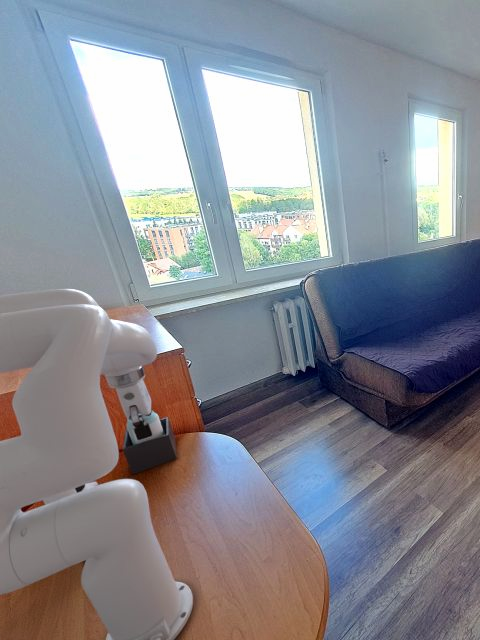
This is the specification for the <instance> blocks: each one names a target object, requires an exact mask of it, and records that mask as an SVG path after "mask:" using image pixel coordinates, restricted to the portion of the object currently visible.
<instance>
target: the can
mask: <svg viewBox="0 0 480 640" xmlns="http://www.w3.org/2000/svg"><path fill="white" fill-rule="evenodd" d="M139 415H142V413H138V416H139ZM145 418H146V422H147V423H149V426H150V429H151V432H152V436H150V437H147V438H144V439H141V440H137V437H136V435H135V432H134V429H133V425H132V421H131V420H128V419H127V418H126V419H127V422H126V424H125V426H126V430H128V432H129V435H130V437H131V440H132V442H133V445H136V444H139V443H142V442H145V441H148V440H151V439H154V438H157V437H160V436H163V435H165V434H164V431H163V428H162V425H161V422H160V419H161V418H160V417H159V415H158V413H157V412H154V410H152V409H151V412H150V414H149V415H145ZM139 419H140V420H142V417H140V418H139ZM142 421H143V420H142Z"/></svg>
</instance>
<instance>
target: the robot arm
mask: <svg viewBox="0 0 480 640" xmlns="http://www.w3.org/2000/svg"><path fill="white" fill-rule="evenodd" d="M157 357H158V349H157V345H156V343H155V340H154V339H153V337H152V336H151V334H150V332H149V331H148V330H147V329H146V328H145V327H144V326H141V325H139V324H137V323H132V322H127V321H123V320H118V319H117V320H116V319H110V316H109V314H108V313H107V312H106V310H104V309H103V308H102V307H101V306H100V304H98V302H97V301H96V300H95V299H94V298H93V297H92V296H91V295H90V294H88V293H86V292H84V291H82V290H78V289H72V288H53V289H45V290H36V291H26V292H19V293H18V292H17V293H9V294H0V375H1V374H6V373H11V372H16V371H21V370H26V369H30V370H29V371H28V372H27V374H26V375H25V377H24V378H23V379H22V380H21V382H20V383H19V385H18V387H17V389H16V391H15V392H14V394H13V397H12V401H11V406H12V410H13V412H14V415H15V418H16V421H17V424H18V427H19V429H20V430H19V431H20V435H18V436H14V437H11V438H7V439H4V440H0V596H1V595H5V594H9V593H12V592H15V591H18V590H20V589H23V588H25V587H27V586H29V585H32V584H35V583H36V582H38V581H41V580H44V579H45V578H47V577H50V576H52V575H54V574H56V573H58V572H61V571H64V570H65V569H68V568H70V567H73V566H76V565H78V564H80V563H82V562H84V561H85V563H84V565H83V568H82V571H81V575H80V584H81V587H82V590H83V592H84V593H85V595H86V596H87V599H88V600H89V601H90V603H91V605H92V607H93V608H94V610H95V612H96V614H97V615H98V617H99V619H100V620H101V622H102V625H104V627H105V630H106V631H107V634H106V637H105V640H175V639H176V638H177V636H178V635H180V633H181V632H182V630H183V629H184V627H185V625H186V624H187V622H188V621H189V618H190V616H191V614H192V611H193V606H194V595H193V592H192V589H190V587H189V585H187V584H186V583H185V582H181V581H176V580H175V578H174V576H173V573H172V571H171V569H170V566H169V564H168V562H167V559H166V556H165V553H164V552H163V550H162V547H161V545H160V542H159V540H158V538H157V535H156V532H155V530H154V526H153V523H152V518H151V512H150V505H149V504H150V503H149V497H148V494H147V490H146V489H145V487H144V485H143V483H141V482H140V481H139V480H137V479H134V478H120V479H115V480H111V481H107V482H104V483H100V484H98V485H97V486H95V487H92V488H89V489H86V490H84V491H81V492H78V493H75V494H73V495H70V496H67V497H64V498H62V499H60V500H57V501H55V502H52V503H49V504H46V505H45V504H43V505H41V506H37V507H35V508H32V509H30V510H27V511H22V508H24V507H27V506H30V505H32V504H35V503H39V502H41V501H43V500H44V499H47V498H49V497H52V496H55V495H58V494H60V493H63V492H66V491H69V490H71V489H74V488H77V487H79V486H82V485H85V484H88V483H92V482H95V481H97V480H99V479H101V478H102V477H105V476H107V475H108V474H109V473H110V472H112V471H113V470H114V469H115V468H116V466H117V465H118V462H119V459H120V451H119V445H118V441H117V437H116V435H115V431H114V427H113V425H112V421H111V418H110V416H109V412H108V408H107V406H106V403H105V400H104V397H103V393H102V390H101V376H103V375H104V378H105V380H106V382H107V385H108V387H109V388H112V389H115V391H116V394H117V397H118V400H119V403H120V406H121V408H122V411H123V414H124V416H125V418H126V419H128V420H131V421H132V425H133V429H134V432H135V435H136V437H137V440H141V439H144V438H147V437H150V436H152V432H151V429H150V426H149V423H147V422H146V418H145V415H149V414H150V412H151V410H152V398H151V395H150V393H149V391H148V388H147V386H146V385H147V384H146V383H145V381H144V379H145V378H146V374H145V371H144V368H143V367H144V366H148V365H150V364H152V363H154V362H155V360H156V359H157ZM138 413H142V415H139V416H138ZM140 417H142V420H143V421H142V420H140V419H139V418H140Z"/></svg>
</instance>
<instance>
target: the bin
mask: <svg viewBox="0 0 480 640" xmlns="http://www.w3.org/2000/svg"><path fill="white" fill-rule="evenodd" d="M159 419H160V422H161V425H162V428H163V431H164V434H165V435H163V436H160V437H157V438H154V439H151V440H148V441H145V442H142V443H139V444H136V445H133V442H132V440H131V437H130V435H129V432H128V430H127V429H125V430H124V436H123V437H124V438H123V445H122V452H123V454H124V457H125V459H126V462H127V464H128V466H129V469H130V471H131V474H132V475H136V474H139V473H142V472H144V471H147V470H150V469H152V468H155V467H158V466H160V465H161V466H162V465H164V464H166V463H169V462H172V461H175V460H177V458H178V457H177V456H178V455H177V440H176V439H177V438H176V436H175V433H174V431H173V430H174V429H173V427H172V425H171V421H170V419H169V416H166V417H163V418H159Z"/></svg>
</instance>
